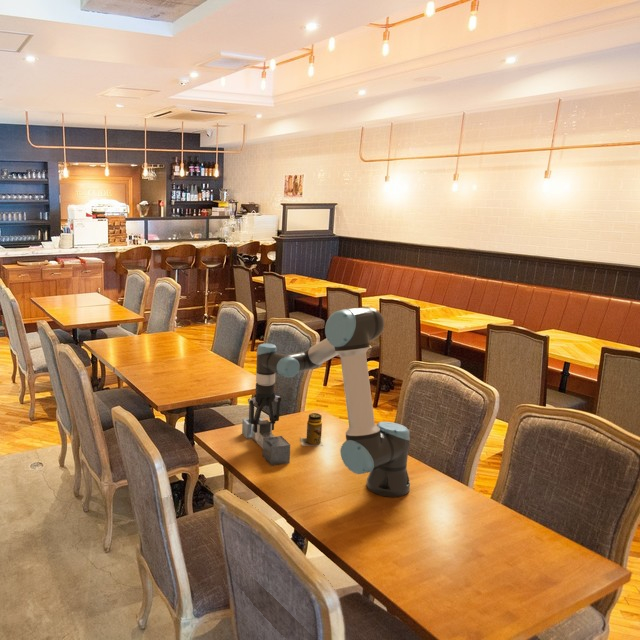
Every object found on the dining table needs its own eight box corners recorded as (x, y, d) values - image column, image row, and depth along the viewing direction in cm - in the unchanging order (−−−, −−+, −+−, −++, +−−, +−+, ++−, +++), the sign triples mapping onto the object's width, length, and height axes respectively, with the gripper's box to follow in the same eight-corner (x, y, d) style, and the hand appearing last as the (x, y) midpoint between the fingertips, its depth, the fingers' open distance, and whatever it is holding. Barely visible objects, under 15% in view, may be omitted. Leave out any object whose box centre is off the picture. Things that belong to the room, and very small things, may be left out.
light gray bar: (281, 456, 227) (282, 434, 225) (270, 457, 225) (271, 436, 223) (261, 434, 246) (262, 414, 244) (250, 435, 244) (251, 415, 242)
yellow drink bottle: (322, 446, 241) (324, 418, 239) (302, 446, 240) (303, 418, 238) (320, 438, 248) (322, 411, 246) (300, 438, 247) (301, 411, 245)
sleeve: (289, 463, 224) (290, 444, 222) (271, 465, 221) (271, 447, 219) (280, 453, 232) (281, 435, 230) (262, 456, 228) (263, 438, 227)
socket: (264, 436, 247) (265, 422, 246) (246, 439, 243) (247, 424, 242) (259, 431, 252) (259, 417, 251) (242, 433, 249) (242, 419, 247)
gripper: (282, 378, 240) (279, 432, 245) (240, 382, 232) (239, 438, 237) (289, 383, 233) (287, 439, 238) (247, 387, 226) (245, 445, 230)
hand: (263, 438), depth 237 cm, fingers closed on light gray bar, 4 cm apart
